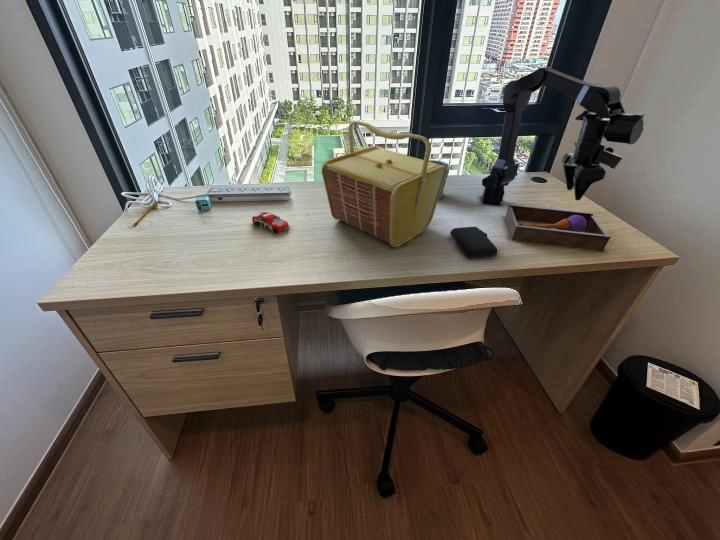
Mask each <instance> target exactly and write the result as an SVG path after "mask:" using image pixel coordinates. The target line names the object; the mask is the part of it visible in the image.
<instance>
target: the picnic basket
mask: <svg viewBox="0 0 720 540" xmlns="http://www.w3.org/2000/svg"><path fill="white" fill-rule="evenodd" d="M355 125H358V126H362V127H365V128H366V129H367V130H368V131H369V132H371V134H372V133H373V134H374V135H376V136H378V137H381V138H384V139H388V140H405V139H408V138H410V139H414V140H419V141H421V142H423V143H424V144H425V152H424V157H423V159H422V158H417V157H414V156H410V155H407V154H403V153H401V152H396V151H393V150H389V149H386V148H383V147H379V146H376V145H371V146H367V147H365V148H361V149H358V150H354V132H353V129H354V126H355ZM347 129H348V147H349V152H348V153H345V154H342V155H338V156H335V157H332V158H328V159H327V160H325V161H324V162H323V163H322V165H321V167H320V168H321V176H322V181H323V184H324V189H325V193H326V197H327V201H328V206H329V210H330V213H331V216H332V218H333V219H335V220H337V221H341V222H343V223H345V224H347V225H349V226H351V227H353V228H356V229H358V230H360V231H362V232H364V233H366V234H368V235H370V236H373V237H375V238H377V239H379V240H381V241H383V242H385V243H387V244H389V245H390V246H391V247H392V248H398V247H400V246H402V245H403V244H405V243H406V242H408V241H410V240H411V239H413V238H414V237H416V236H418V235H419V234H421V233H422V232H424V231H425V230H426V229H428V227H429V226H430V224H431V223H432V220H433V217H434V214H435V210H436V208H437V205H438V201H439V199H438V198H439V195H440V192H441V189H442V186H443V183H444V179H445V176H446V173H447V167H446V166H444V165H439V164H436V163H432V162H429V160H430V158H431V157H430V156H431V152H432V145H431V142H430V140H428V138H427V137H426V136H423V135H421V134H415V133H411V132H390V131H389V132H388V131H385V130H383V129H380V128H379V127H376V126H374V125H372V124H370V123H367V122H364V121H360V120H352V121H351V122H350V123H349V124H348V128H347Z"/></svg>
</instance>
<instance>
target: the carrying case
mask: <svg viewBox="0 0 720 540" xmlns="http://www.w3.org/2000/svg"><path fill="white" fill-rule="evenodd" d="M450 236H451V238H452V239H453V240H454V241H455V242H456V244H457V246H458V247H459V248H460V249H461V251H462V253H463V254H464V255H465V256H466V257H467V258H469V259H477V258H478V259H479V258H489V257H495V256H496V255H497V254H498V247H497V246H496V245H495V244H494V243H493V242H492V241H491V239H489V237H488V233H486V232H485V231H483V230H482V229H480V228H479V227H478V226H464V227H463V226H462V227H454V228H452V229H451V230H450Z"/></svg>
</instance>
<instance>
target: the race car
mask: <svg viewBox="0 0 720 540" xmlns="http://www.w3.org/2000/svg"><path fill="white" fill-rule="evenodd" d="M280 217H281V216H280V215H279V216H278V215H277V214H274V213H271V212H266V211H261V212H256V213H255V214H253V215H252V217H251V220H252V224H253V225H254V226H255V227H257V228H261V229H264V230H268V231H270V232H273V233H274V234H276V235H277V234H282V233H284V232H287V231H288V230H289V229H290V225H289V222H288V221H286V220H284V219H282V218H280Z"/></svg>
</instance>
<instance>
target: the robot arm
mask: <svg viewBox="0 0 720 540" xmlns="http://www.w3.org/2000/svg"><path fill="white" fill-rule="evenodd" d="M543 86H544V87H546V88H548V89H550V90H554V91H556V92H557V93H560V94H563V95H565V96H567V97H570V98H572V99H574V100H575V101H576V103H577V104H578V105H579V106H580V107H582V108H583V109H584V110H583V111H582V112H581V113H579V115H576V116H575V117H574V120H576V121H582V124H581V127H580V131H579V134H578V136H577V137H578V138H577V140H575V141H574V143H573V146H575V148H574V152H567V153H565V154H563V156H562V159H561V163H562V164H561V165H562V169H563V173H564V181H565V184H566V185H565V186H566V190H567V191H572V190H574V200H575V201H581V199H582V198H583V196H584V195H585V193H586V192H587V191H588V189H590V187H591V186H592V185H593V184H594V183H596V182H600V181H602V180H604V179H605V177H606V174H607V171H606V170H605V169H604V168H603V166H601V165H600V164H602V165H605V166H607V167H609V168H610V169H613V170H615V169H616V167H618V165H619V164H620V162H621V161H622V160H623V157H622V156H621V155H619V154H617V153H616V152H615V153H614V147H611V146H608V145H606V146H605V145H604V143H603V141H604V139H605V141H606V142H609V143H616V144H617V143H618V144H625V145H634V144H636V143H637V142H638V141H639V139H640V138H641V136H642V134H643V131H644V128H645V127H644V117H645V114H644V113H635V114H633V113H626V111H625V108H624V106H623V104H622V100H621V95H622V94H621V89H620V88H619V87H618V86H616V85H609V84H602V83H592V82H587V81H584V80H582V79H579V78H576V77H574V76H572V75H568V74H566V73H563V72H561V71H558V70H556V69H553V68H552V67H550V66H547V67H539V68H537V69H536V70H534V71H532V72H531V73H529V74H526V75H524V76H522V77H520V78H518V79H516V80H510V81H509V82H508V83H507V84H506V85H504V87H503V92H502V105H503V108H504V111H505V115H504V120H503V121H504V122H503V127H502V132H501V138H500V139H501V140H500V144H499V150H498V156H497V159H496V160H495V162H494V163H493V165H492V167H491V169H490V173H489V174H488V175H487V176H486V177H484V178H483V179H482V180H481V186H482V187H484V188H483V192H482V195H480V199H481V203H482V204H483V205H492V206H501V204H502V203H503V199H504V196H505V192H506V191H505V187H506V186H509V184H510V183H511V182H513V181H514V180H515V179H516V177H517V176H518V170H519V167H520V163H516V161H515V152H516V147H517V141H518V137H519V133H520V132H519V131H520V126H521V121H522V115H523V112H524V110H525V109H526V107H527V106H528V105H529V103H530V100H531V97H532V94H533V93H535V92H536V91H538V90H540V89H541V88H542V87H543Z"/></svg>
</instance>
